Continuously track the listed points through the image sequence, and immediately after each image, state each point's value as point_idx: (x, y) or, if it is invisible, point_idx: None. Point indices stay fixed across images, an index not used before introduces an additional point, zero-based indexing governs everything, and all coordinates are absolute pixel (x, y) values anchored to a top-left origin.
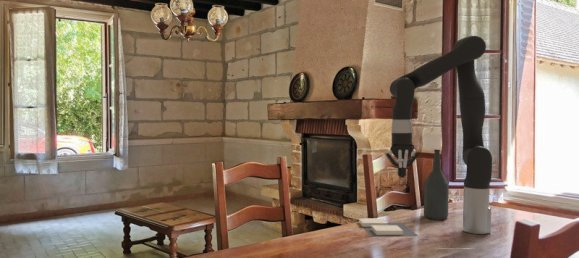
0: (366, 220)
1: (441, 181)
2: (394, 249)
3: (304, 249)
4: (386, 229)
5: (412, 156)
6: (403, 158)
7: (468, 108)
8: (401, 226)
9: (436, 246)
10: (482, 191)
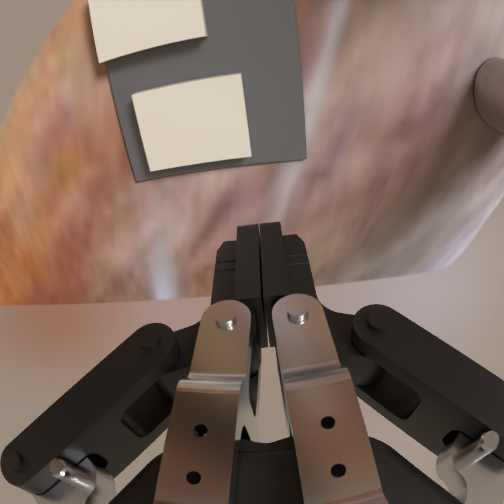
0: (113, 15)
1: None
2: (207, 278)
3: (33, 290)
4: (188, 149)
5: (445, 446)
6: (319, 420)
7: None
8: (270, 15)
9: (327, 244)
10: None
